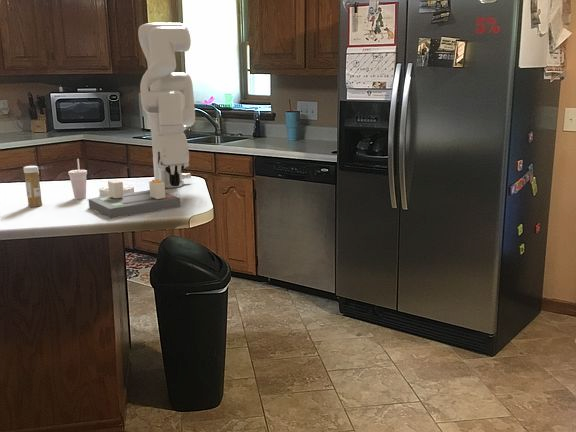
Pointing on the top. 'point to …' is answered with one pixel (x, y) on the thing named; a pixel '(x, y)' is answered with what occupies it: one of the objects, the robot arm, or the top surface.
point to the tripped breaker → (157, 189)
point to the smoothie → (78, 182)
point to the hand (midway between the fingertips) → (175, 185)
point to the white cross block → (105, 190)
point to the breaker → (115, 189)
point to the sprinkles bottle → (32, 186)
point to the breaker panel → (132, 204)
